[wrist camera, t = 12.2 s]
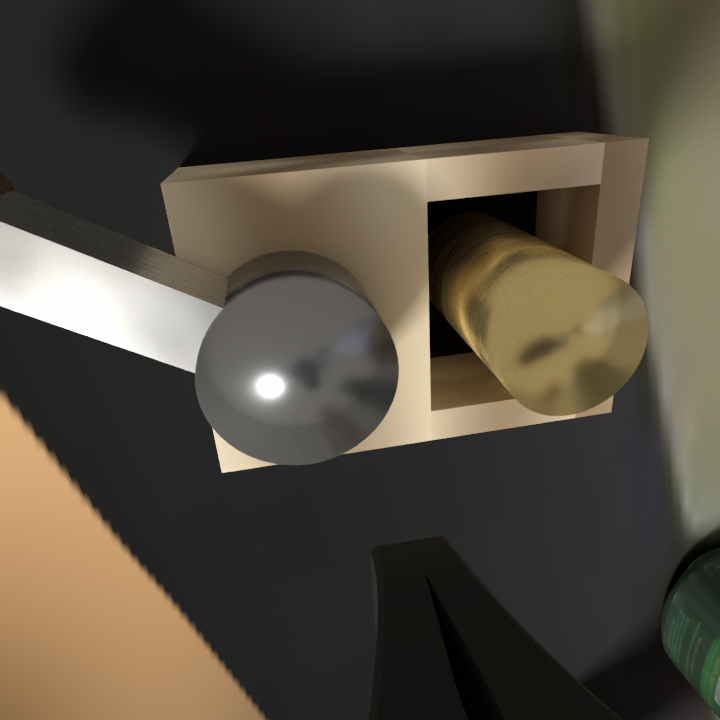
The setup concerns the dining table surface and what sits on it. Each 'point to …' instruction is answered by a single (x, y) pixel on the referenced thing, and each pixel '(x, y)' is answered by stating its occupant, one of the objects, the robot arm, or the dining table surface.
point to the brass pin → (536, 313)
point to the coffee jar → (696, 626)
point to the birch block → (412, 246)
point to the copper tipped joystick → (215, 328)
